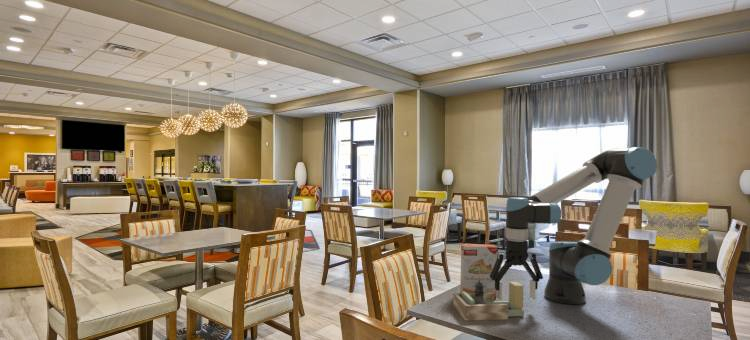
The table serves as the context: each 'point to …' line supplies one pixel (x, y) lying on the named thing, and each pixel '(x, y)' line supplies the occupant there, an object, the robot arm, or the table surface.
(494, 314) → the frame
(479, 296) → the chess piece
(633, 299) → the table surface
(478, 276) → the cracker box
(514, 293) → the tray
